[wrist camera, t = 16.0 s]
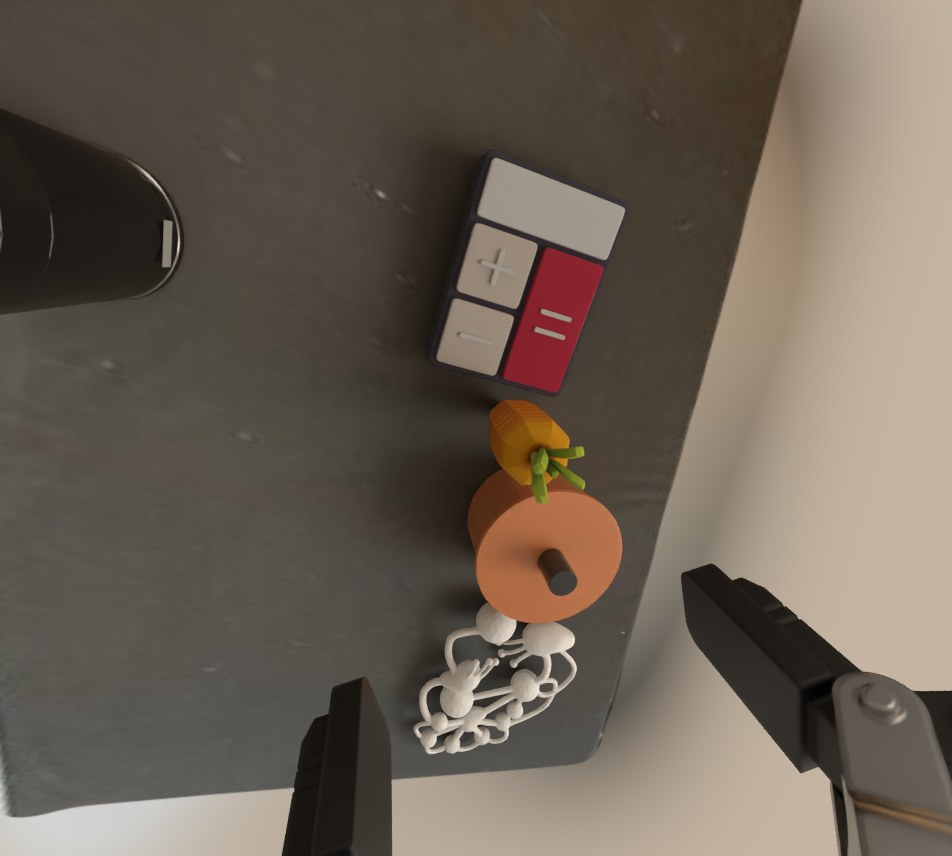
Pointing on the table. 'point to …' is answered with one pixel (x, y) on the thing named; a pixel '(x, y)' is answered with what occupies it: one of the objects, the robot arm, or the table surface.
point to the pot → (501, 500)
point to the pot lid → (548, 556)
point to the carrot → (531, 446)
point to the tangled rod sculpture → (467, 677)
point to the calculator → (523, 274)
